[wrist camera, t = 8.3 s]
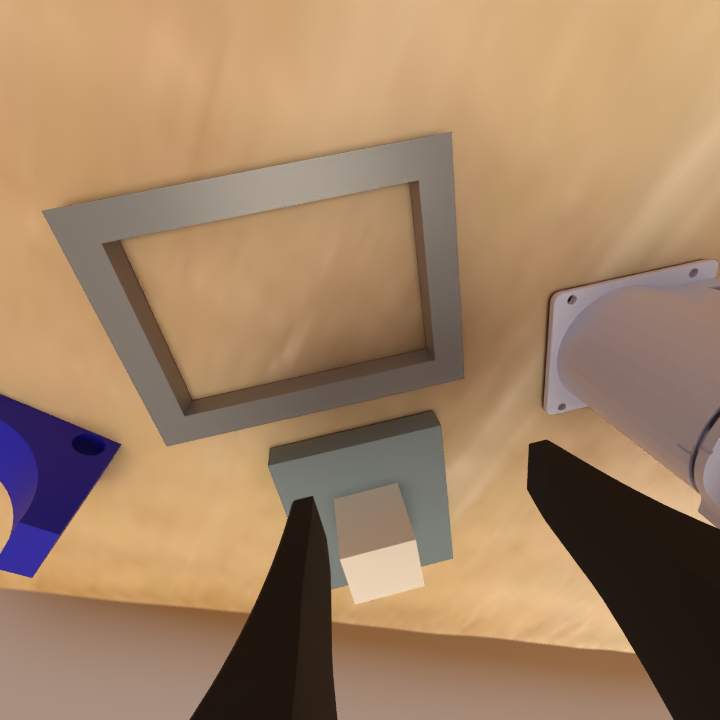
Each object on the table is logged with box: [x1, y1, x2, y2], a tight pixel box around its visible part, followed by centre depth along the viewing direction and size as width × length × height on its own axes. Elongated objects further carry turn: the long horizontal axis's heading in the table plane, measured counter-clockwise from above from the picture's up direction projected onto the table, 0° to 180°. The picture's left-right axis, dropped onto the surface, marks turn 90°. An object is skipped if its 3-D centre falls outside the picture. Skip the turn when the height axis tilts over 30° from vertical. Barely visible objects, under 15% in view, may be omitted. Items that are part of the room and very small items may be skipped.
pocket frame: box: [42, 132, 464, 446], centre depth 18 cm, size 16×12×2 cm
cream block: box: [334, 483, 424, 604], centre depth 21 cm, size 4×4×4 cm
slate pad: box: [268, 411, 453, 589], centre depth 24 cm, size 10×12×2 cm
